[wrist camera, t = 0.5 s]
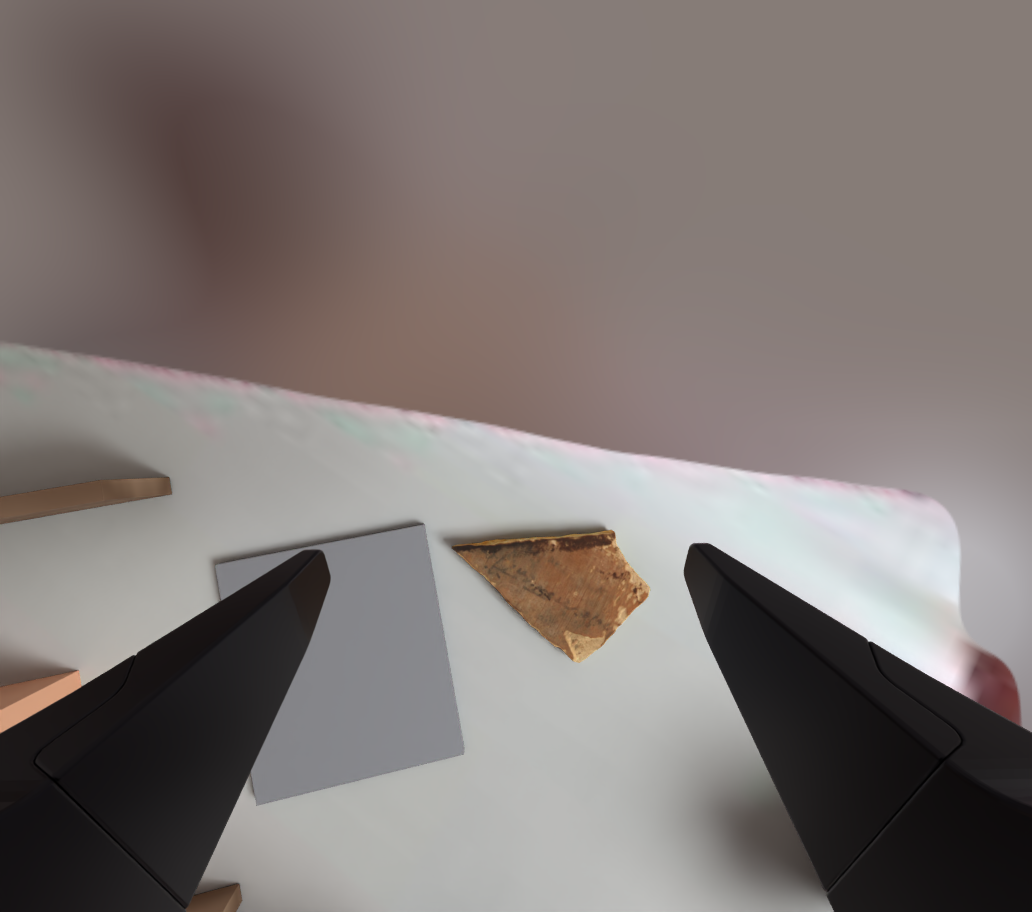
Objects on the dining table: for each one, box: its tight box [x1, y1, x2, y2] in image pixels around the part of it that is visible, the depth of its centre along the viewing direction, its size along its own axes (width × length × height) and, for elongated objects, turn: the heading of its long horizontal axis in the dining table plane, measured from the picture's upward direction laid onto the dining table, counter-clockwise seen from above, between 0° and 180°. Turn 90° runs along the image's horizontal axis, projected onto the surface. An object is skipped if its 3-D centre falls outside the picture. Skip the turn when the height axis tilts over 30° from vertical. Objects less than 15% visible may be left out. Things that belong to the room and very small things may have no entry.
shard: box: [452, 530, 650, 663], centre depth 24 cm, size 11×8×2 cm
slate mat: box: [215, 524, 464, 806], centre depth 23 cm, size 14×12×1 cm
